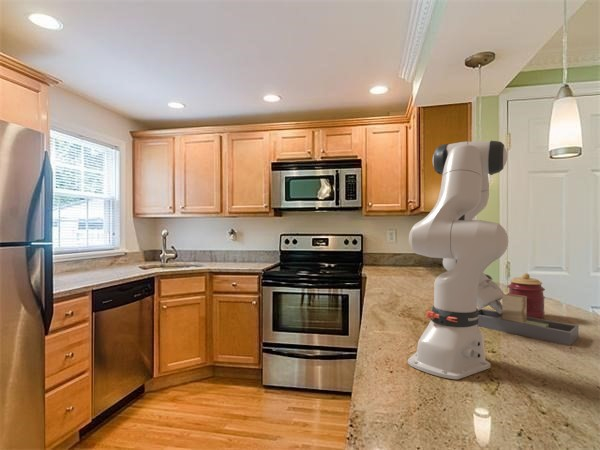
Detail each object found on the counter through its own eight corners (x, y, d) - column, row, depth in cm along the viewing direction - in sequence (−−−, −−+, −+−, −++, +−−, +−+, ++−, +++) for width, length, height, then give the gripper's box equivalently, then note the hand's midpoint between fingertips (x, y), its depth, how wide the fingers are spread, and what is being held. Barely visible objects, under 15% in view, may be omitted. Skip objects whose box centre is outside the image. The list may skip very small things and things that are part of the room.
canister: (533, 312, 151) (533, 271, 151) (552, 320, 138) (552, 275, 138) (501, 311, 152) (502, 270, 152) (517, 319, 139) (517, 275, 139)
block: (521, 324, 122) (521, 298, 122) (502, 320, 127) (502, 295, 127) (526, 321, 126) (526, 296, 126) (507, 317, 131) (508, 293, 131)
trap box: (570, 345, 110) (570, 332, 110) (467, 323, 133) (467, 313, 133) (578, 337, 118) (578, 325, 118) (479, 318, 141) (480, 308, 141)
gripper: (470, 280, 128) (499, 312, 121) (491, 275, 142) (518, 303, 134) (458, 290, 131) (485, 322, 124) (479, 284, 145) (505, 312, 138)
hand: (503, 312), depth 129 cm, fingers closed, pressing on block
